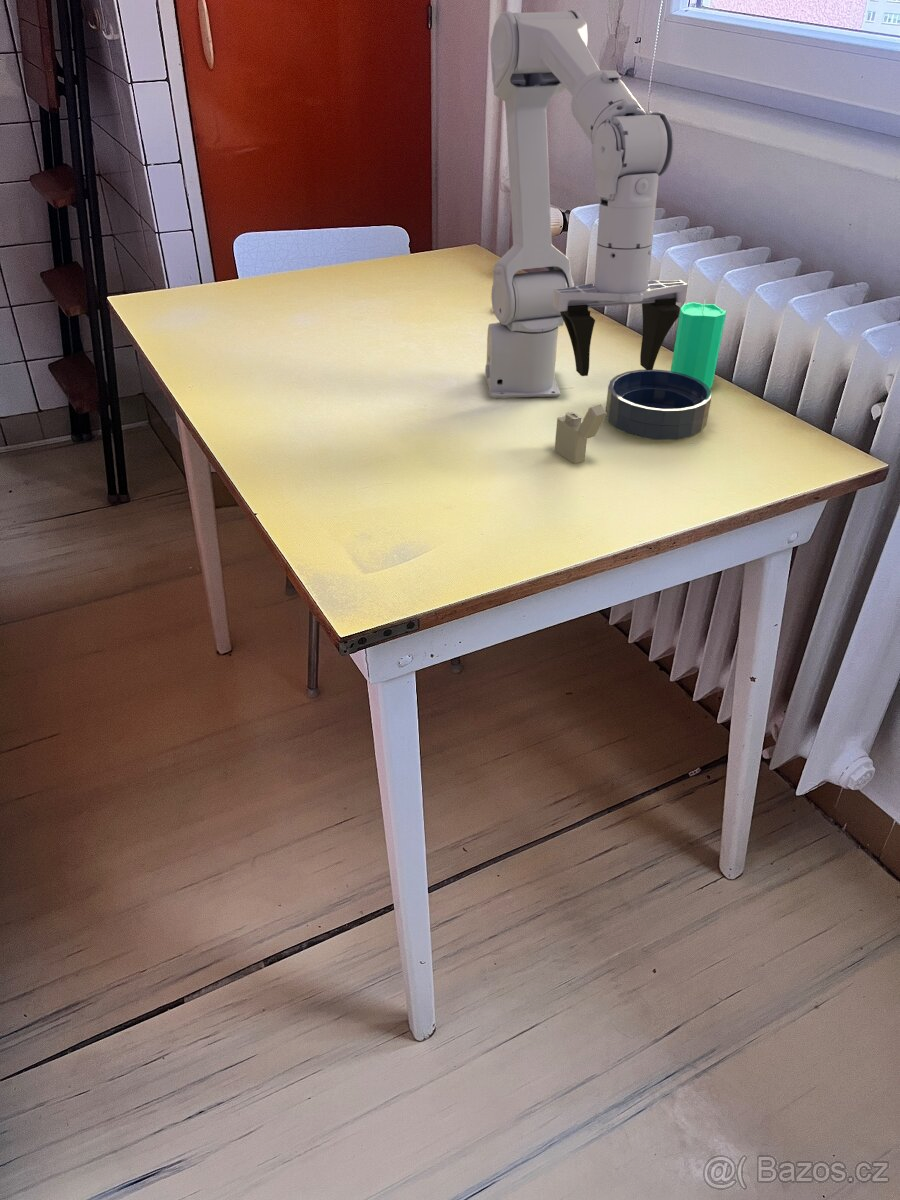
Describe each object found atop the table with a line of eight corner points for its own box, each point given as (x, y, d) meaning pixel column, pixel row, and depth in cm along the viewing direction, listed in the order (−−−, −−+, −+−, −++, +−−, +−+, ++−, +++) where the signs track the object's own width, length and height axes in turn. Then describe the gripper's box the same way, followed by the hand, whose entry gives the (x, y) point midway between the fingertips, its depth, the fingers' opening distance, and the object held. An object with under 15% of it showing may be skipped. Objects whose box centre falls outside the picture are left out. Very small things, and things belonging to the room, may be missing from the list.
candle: (713, 393, 128) (729, 307, 121) (668, 389, 129) (682, 303, 122) (712, 376, 133) (727, 292, 126) (669, 372, 134) (682, 288, 127)
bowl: (616, 445, 115) (620, 411, 113) (596, 401, 126) (599, 370, 123) (718, 443, 116) (724, 409, 114) (689, 400, 126) (695, 368, 124)
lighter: (553, 450, 114) (558, 388, 110) (565, 446, 115) (570, 385, 110) (589, 474, 109) (596, 411, 105) (601, 470, 110) (608, 408, 105)
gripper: (570, 256, 93) (563, 387, 101) (705, 247, 96) (689, 376, 103) (549, 241, 99) (544, 367, 106) (677, 233, 102) (664, 356, 109)
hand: (614, 370), depth 105 cm, fingers open, 7 cm apart
